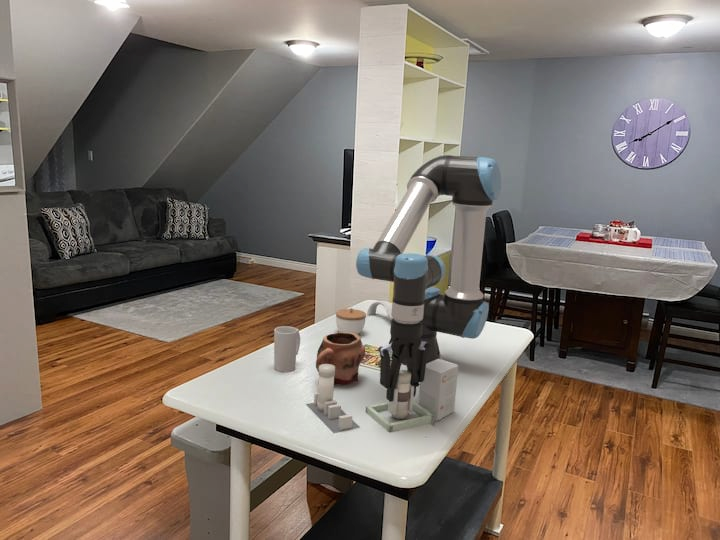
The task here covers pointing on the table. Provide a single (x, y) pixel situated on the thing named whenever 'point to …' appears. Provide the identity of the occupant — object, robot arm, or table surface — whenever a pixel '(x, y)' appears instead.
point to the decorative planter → (342, 356)
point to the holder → (330, 403)
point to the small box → (439, 388)
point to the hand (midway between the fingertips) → (400, 410)
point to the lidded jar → (350, 320)
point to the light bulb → (403, 394)
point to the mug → (286, 348)
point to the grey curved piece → (386, 304)
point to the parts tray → (423, 419)
